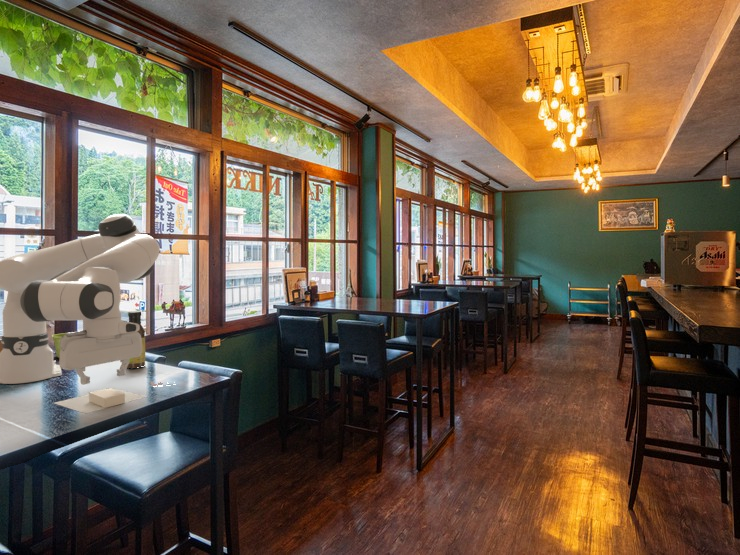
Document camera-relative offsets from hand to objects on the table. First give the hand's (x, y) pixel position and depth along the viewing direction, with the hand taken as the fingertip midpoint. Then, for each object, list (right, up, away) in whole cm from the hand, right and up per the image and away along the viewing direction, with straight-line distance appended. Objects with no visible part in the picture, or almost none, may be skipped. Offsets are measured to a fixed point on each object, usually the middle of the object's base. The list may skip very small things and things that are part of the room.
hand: (103, 379), depth 123 cm
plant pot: (-48, -4, +58) cm, 75 cm away
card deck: (-2, -4, +1) cm, 5 cm away
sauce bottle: (-12, -5, +39) cm, 41 cm away
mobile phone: (+6, -6, +21) cm, 23 cm away
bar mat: (-2, -6, +1) cm, 6 cm away
